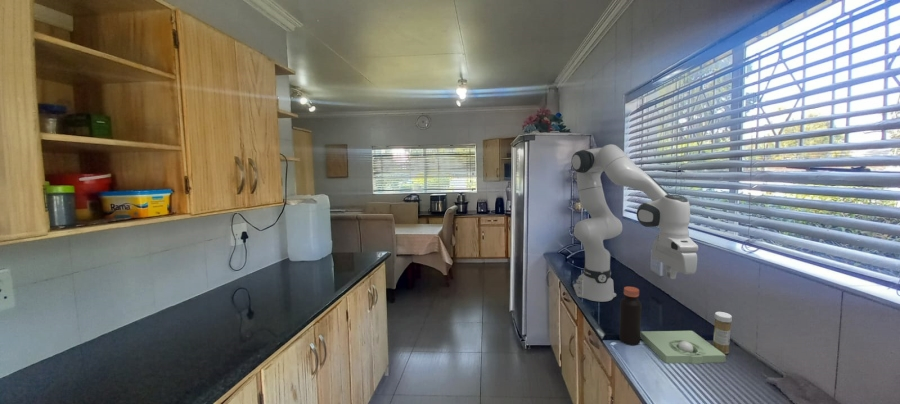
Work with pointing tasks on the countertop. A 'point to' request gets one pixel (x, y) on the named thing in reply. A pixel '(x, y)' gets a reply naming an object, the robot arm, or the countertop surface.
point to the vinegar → (630, 317)
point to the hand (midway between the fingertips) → (670, 277)
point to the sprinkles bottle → (722, 331)
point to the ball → (685, 347)
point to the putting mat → (669, 352)
